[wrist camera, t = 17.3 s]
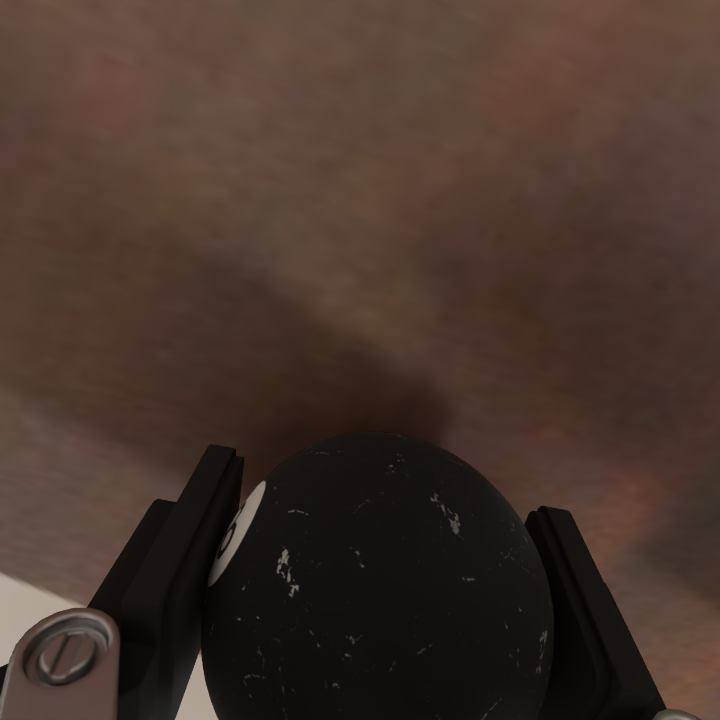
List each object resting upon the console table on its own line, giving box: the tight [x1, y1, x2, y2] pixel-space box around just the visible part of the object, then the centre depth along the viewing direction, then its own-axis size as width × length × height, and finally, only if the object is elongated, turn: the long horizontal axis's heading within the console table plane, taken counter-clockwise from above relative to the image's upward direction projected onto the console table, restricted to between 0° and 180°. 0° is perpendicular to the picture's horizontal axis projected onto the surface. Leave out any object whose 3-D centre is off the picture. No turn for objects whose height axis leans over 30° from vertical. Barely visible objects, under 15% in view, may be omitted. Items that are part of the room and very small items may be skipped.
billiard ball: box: [201, 432, 554, 720], centre depth 9 cm, size 6×6×6 cm
